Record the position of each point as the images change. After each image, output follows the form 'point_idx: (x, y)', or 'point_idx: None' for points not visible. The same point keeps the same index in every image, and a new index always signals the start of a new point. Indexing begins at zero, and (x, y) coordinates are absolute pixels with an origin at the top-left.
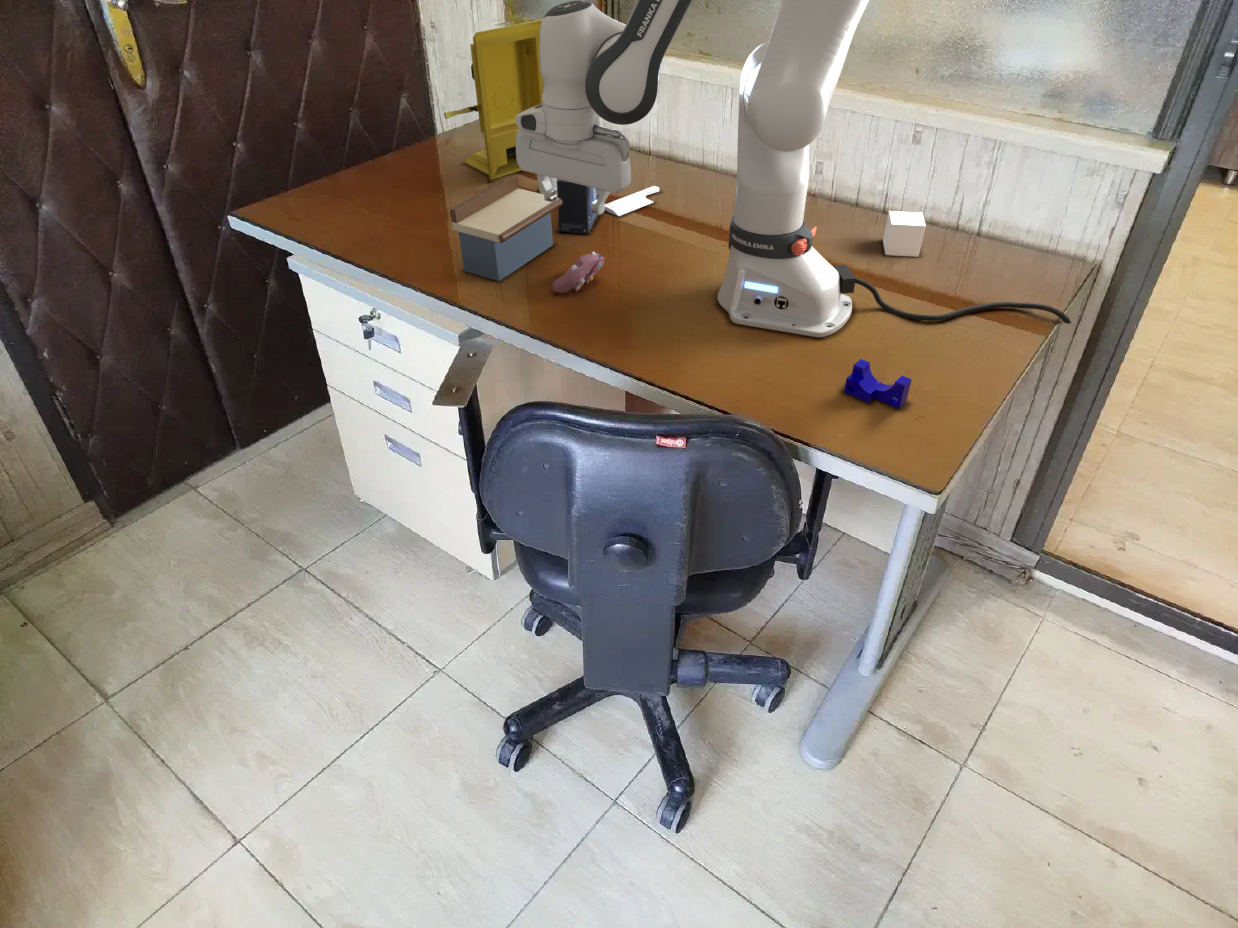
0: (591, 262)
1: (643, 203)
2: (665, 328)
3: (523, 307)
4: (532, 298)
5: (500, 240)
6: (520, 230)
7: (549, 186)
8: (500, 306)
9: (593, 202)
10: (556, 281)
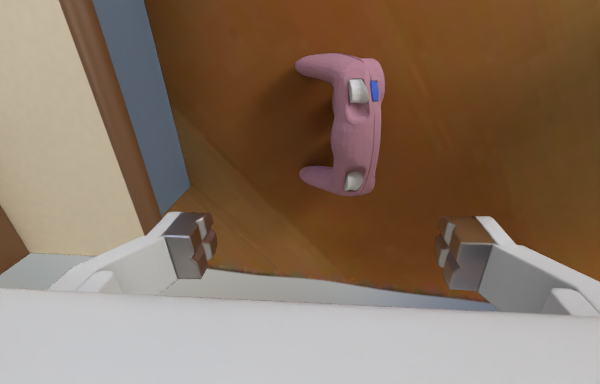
0: (379, 146)
1: None
2: (592, 181)
3: (291, 234)
4: (284, 205)
5: None
6: (150, 185)
7: (154, 260)
8: (257, 246)
9: (458, 281)
10: (312, 185)
